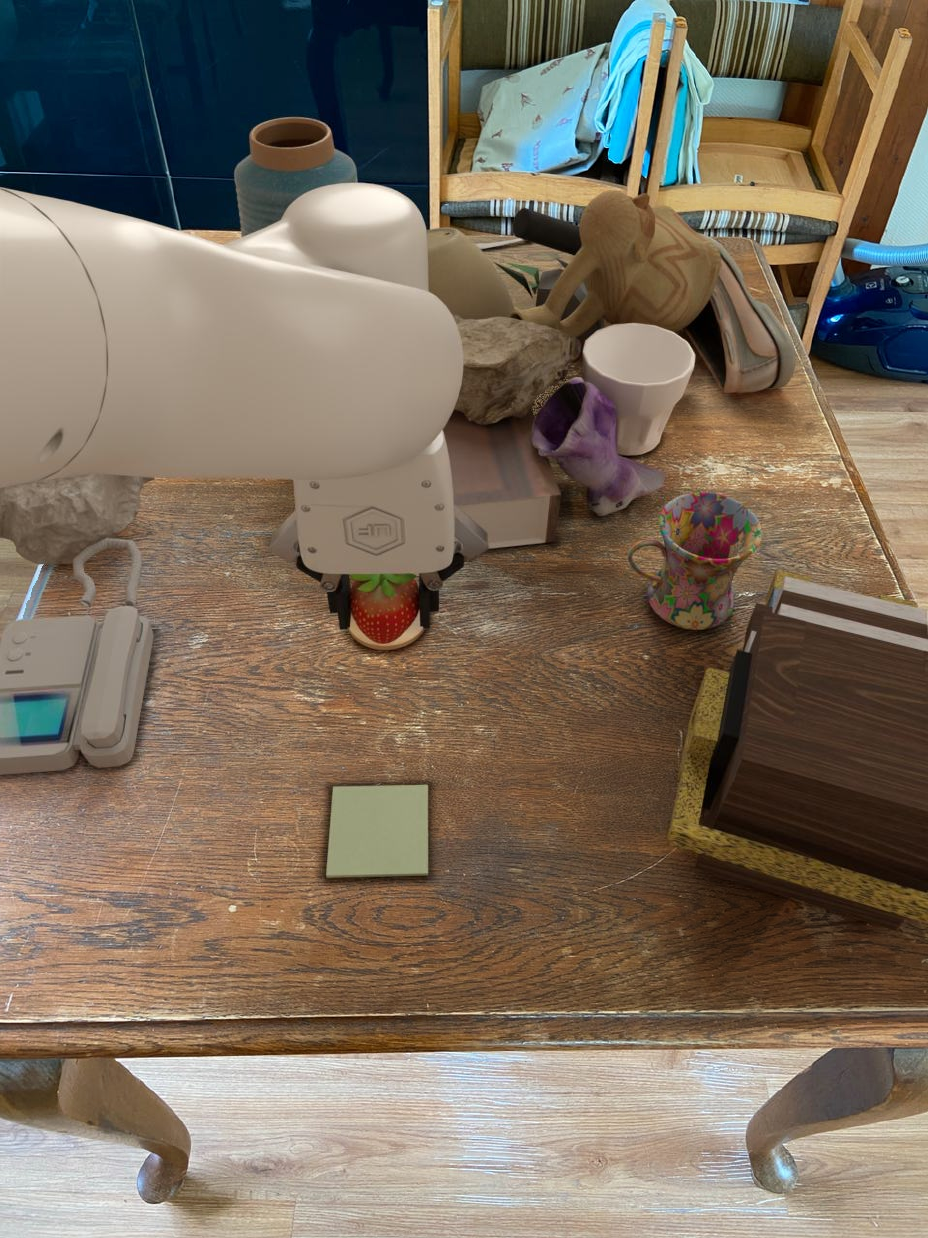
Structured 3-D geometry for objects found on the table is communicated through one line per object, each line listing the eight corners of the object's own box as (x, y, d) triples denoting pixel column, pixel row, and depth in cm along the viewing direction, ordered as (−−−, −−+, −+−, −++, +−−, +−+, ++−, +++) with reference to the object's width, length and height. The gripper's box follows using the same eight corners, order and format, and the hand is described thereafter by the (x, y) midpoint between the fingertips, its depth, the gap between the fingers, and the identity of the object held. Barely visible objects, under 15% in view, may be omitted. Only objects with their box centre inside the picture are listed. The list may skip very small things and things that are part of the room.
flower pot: (325, 265, 111) (354, 358, 119) (434, 265, 101) (459, 368, 108) (417, 215, 121) (439, 304, 128) (526, 210, 110) (543, 308, 118)
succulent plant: (483, 348, 120) (485, 287, 114) (501, 273, 133) (503, 215, 127) (602, 358, 119) (610, 298, 112) (608, 281, 132) (616, 223, 125)
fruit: (365, 607, 71) (357, 532, 65) (429, 618, 71) (426, 544, 65) (344, 658, 68) (333, 585, 62) (411, 671, 67) (406, 598, 61)
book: (506, 388, 114) (508, 342, 109) (555, 541, 96) (560, 494, 91) (312, 405, 112) (305, 359, 107) (324, 566, 93) (317, 519, 88)
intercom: (158, 525, 90) (118, 737, 74) (168, 556, 94) (132, 765, 78) (22, 533, 90) (-48, 749, 74) (38, 563, 93) (-26, 776, 77)
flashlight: (639, 255, 133) (640, 288, 133) (508, 211, 120) (508, 248, 119) (665, 242, 129) (665, 276, 129) (531, 195, 115) (532, 233, 115)
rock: (411, 452, 100) (587, 403, 95) (379, 372, 95) (562, 316, 89) (433, 394, 113) (589, 348, 108) (406, 321, 108) (567, 269, 103)
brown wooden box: (706, 624, 90) (650, 886, 70) (743, 508, 79) (691, 777, 59) (929, 681, 85) (938, 978, 65) (999, 567, 75) (1036, 877, 55)
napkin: (428, 875, 71) (428, 873, 71) (326, 878, 71) (325, 876, 71) (428, 787, 77) (427, 784, 76) (333, 789, 76) (332, 786, 76)
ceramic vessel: (764, 252, 108) (642, 227, 91) (668, 384, 120) (544, 384, 103) (674, 171, 114) (544, 134, 97) (592, 304, 126) (464, 292, 110)
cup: (670, 403, 112) (688, 323, 104) (683, 468, 104) (703, 386, 96) (570, 401, 112) (579, 320, 104) (575, 465, 104) (585, 383, 96)
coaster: (427, 649, 86) (427, 645, 86) (343, 651, 86) (343, 647, 86) (427, 588, 92) (427, 584, 91) (348, 589, 92) (348, 585, 91)
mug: (718, 565, 94) (742, 487, 86) (748, 633, 88) (777, 555, 80) (605, 576, 93) (619, 498, 85) (628, 646, 87) (646, 568, 79)
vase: (232, 341, 121) (187, 128, 101) (332, 300, 128) (309, 93, 108) (301, 396, 113) (268, 176, 93) (404, 349, 120) (393, 135, 100)
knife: (555, 230, 142) (555, 225, 141) (561, 237, 140) (561, 231, 140) (438, 251, 139) (437, 246, 138) (442, 258, 137) (442, 253, 136)
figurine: (539, 476, 91) (634, 542, 99) (605, 394, 89) (697, 469, 97) (508, 441, 99) (598, 505, 107) (568, 364, 96) (656, 436, 104)
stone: (138, 509, 87) (70, 609, 93) (191, 440, 101) (128, 531, 108) (-31, 399, 81) (-90, 513, 88) (49, 342, 95) (-7, 444, 102)
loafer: (691, 205, 122) (628, 222, 121) (811, 331, 106) (740, 353, 105) (681, 274, 131) (622, 291, 130) (791, 401, 115) (725, 422, 113)
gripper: (213, 453, 51) (264, 655, 65) (516, 450, 51) (503, 652, 65) (232, 376, 56) (276, 579, 70) (508, 374, 56) (498, 577, 70)
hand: (385, 613), depth 67 cm, fingers closed on fruit, 5 cm apart
